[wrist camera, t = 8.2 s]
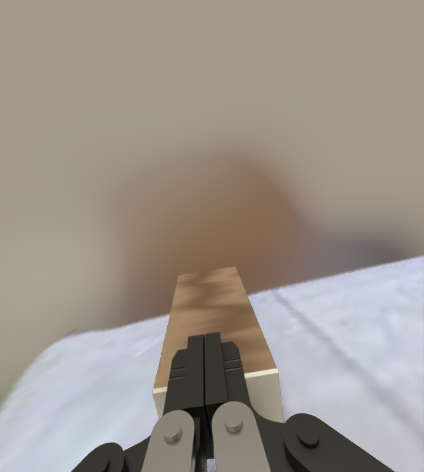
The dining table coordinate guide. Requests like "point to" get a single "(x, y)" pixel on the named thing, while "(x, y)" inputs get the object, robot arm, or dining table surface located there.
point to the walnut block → (231, 329)
